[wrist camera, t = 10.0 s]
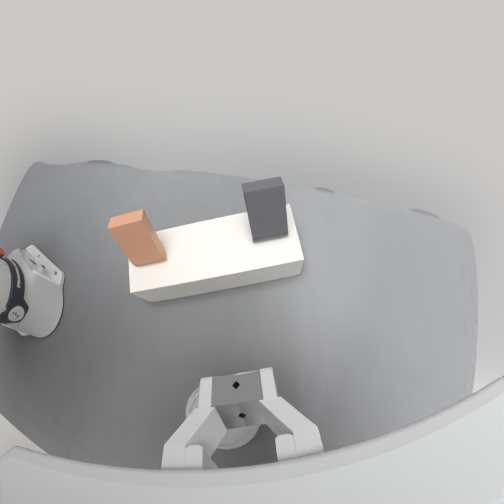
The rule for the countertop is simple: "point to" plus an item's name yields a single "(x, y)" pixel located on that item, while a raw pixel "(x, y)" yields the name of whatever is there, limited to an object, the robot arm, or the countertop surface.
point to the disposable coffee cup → (232, 436)
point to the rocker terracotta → (137, 238)
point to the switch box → (216, 259)
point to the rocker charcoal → (266, 208)
